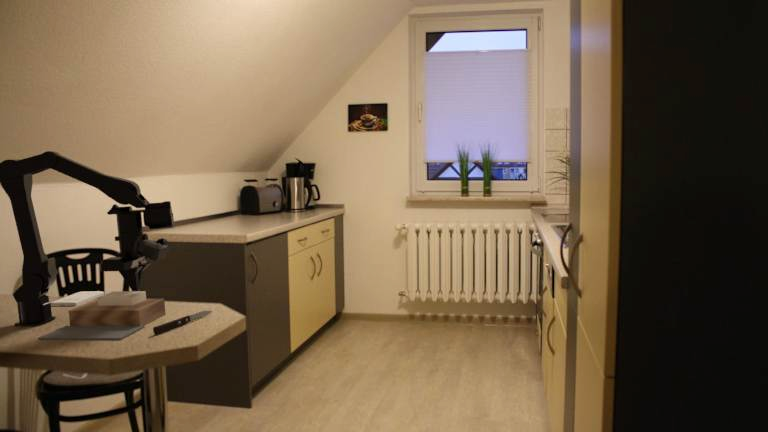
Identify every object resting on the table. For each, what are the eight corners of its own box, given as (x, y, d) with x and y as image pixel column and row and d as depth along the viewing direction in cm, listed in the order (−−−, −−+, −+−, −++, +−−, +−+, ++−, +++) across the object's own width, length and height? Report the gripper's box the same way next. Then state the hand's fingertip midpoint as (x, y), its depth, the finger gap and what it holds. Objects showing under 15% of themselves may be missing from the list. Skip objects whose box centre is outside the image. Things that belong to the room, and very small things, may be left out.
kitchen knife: (156, 336, 134) (155, 327, 134) (152, 335, 135) (152, 327, 134) (214, 314, 150) (213, 306, 150) (211, 314, 151) (210, 306, 150)
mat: (38, 339, 136) (38, 337, 136) (66, 327, 145) (66, 325, 145) (121, 339, 132) (120, 337, 132) (144, 327, 141) (144, 325, 141)
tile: (97, 305, 148) (97, 297, 147) (113, 299, 154) (112, 291, 153) (132, 305, 146) (131, 297, 146) (146, 299, 152) (145, 291, 152)
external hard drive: (104, 296, 179) (76, 308, 166) (79, 296, 180) (49, 308, 168) (104, 291, 178) (75, 302, 166) (78, 291, 180) (48, 302, 168)
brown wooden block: (70, 327, 144) (68, 310, 144) (99, 314, 155) (98, 299, 155) (140, 327, 141) (138, 310, 141) (165, 314, 152) (164, 298, 152)
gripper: (139, 235, 143) (145, 301, 145) (179, 225, 162) (184, 284, 163) (95, 236, 145) (102, 302, 147) (140, 226, 164) (145, 284, 165)
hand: (136, 292), depth 156 cm, fingers closed
